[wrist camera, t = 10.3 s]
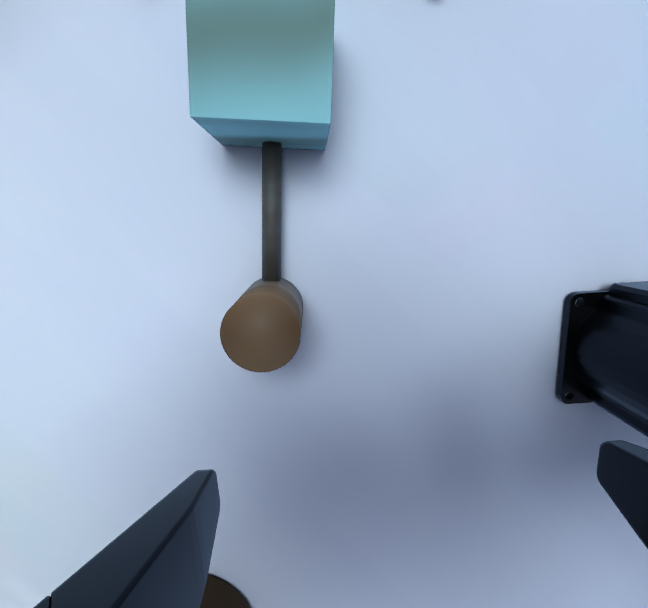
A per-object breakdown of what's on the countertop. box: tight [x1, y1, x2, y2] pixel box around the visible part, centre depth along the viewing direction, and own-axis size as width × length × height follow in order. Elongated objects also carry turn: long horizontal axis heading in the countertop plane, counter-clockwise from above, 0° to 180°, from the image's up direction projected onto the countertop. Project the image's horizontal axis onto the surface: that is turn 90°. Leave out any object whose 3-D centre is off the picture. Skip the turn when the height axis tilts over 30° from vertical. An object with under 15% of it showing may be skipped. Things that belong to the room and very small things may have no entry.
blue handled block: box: [186, 0, 335, 372], centre depth 16 cm, size 15×5×5 cm, turn 178°
